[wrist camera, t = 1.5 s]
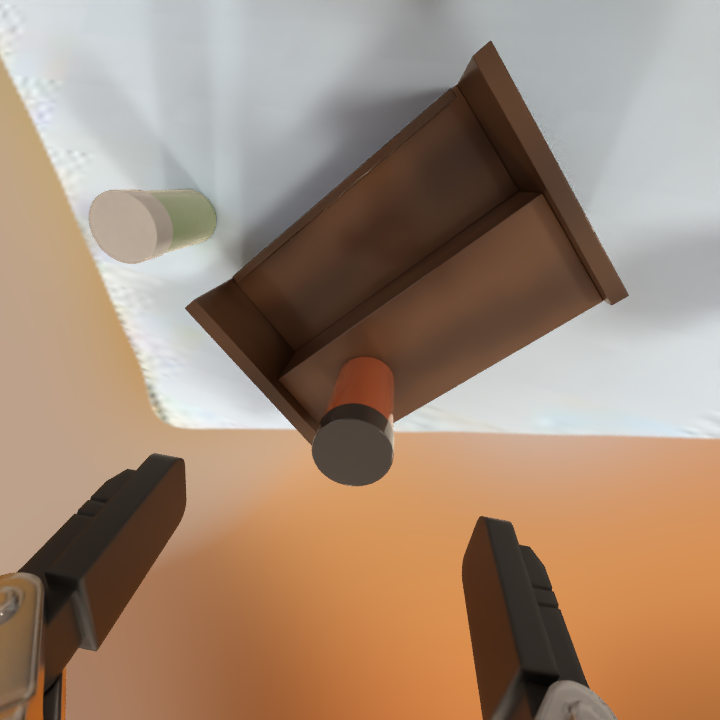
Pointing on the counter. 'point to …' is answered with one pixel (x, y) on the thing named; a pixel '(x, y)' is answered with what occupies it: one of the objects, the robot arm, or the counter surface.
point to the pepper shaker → (357, 424)
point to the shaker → (150, 222)
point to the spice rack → (419, 260)
